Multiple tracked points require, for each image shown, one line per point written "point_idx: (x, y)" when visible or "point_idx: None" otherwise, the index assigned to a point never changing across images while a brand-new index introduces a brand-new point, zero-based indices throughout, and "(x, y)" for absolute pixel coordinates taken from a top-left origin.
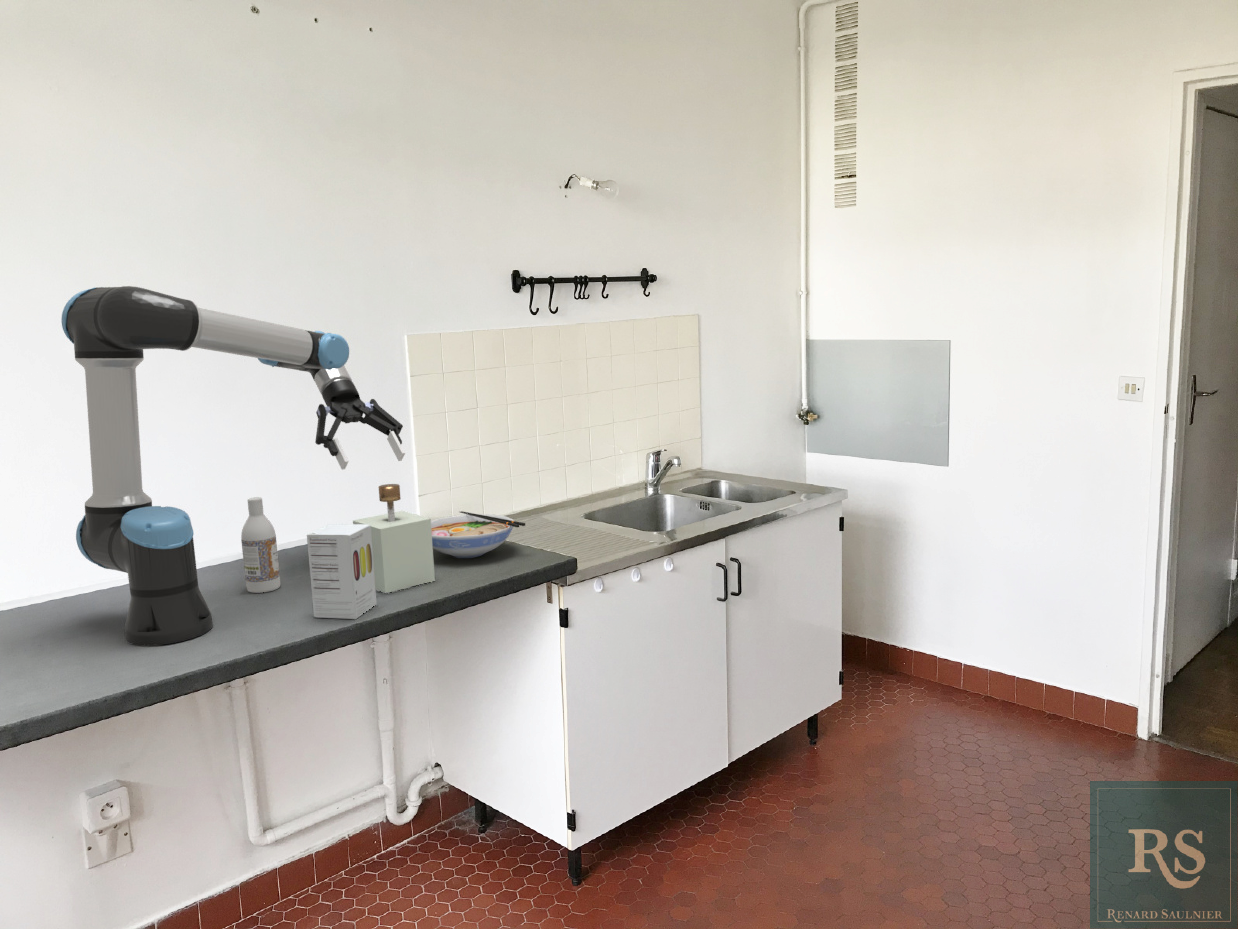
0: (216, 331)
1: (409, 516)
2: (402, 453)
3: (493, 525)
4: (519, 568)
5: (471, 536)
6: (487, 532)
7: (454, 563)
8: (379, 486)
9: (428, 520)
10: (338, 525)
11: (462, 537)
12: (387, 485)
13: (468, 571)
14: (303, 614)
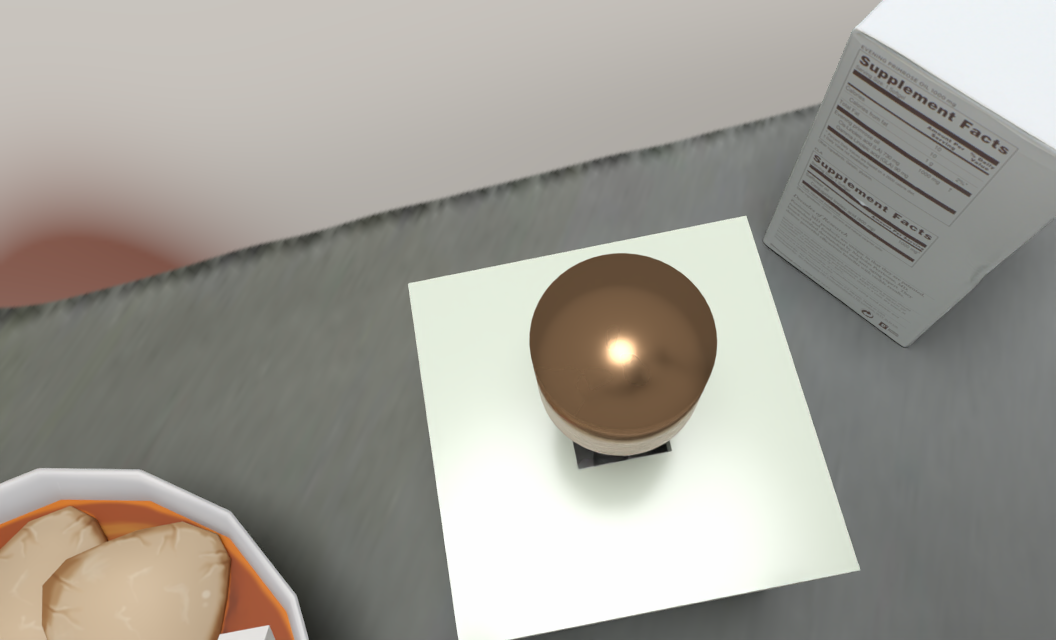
0: None
1: (486, 427)
2: (264, 629)
3: None
4: (114, 358)
5: (163, 482)
6: (20, 589)
7: None
8: (703, 368)
9: (425, 282)
10: (1045, 95)
11: (205, 501)
12: (626, 369)
13: (288, 449)
14: (1045, 290)
